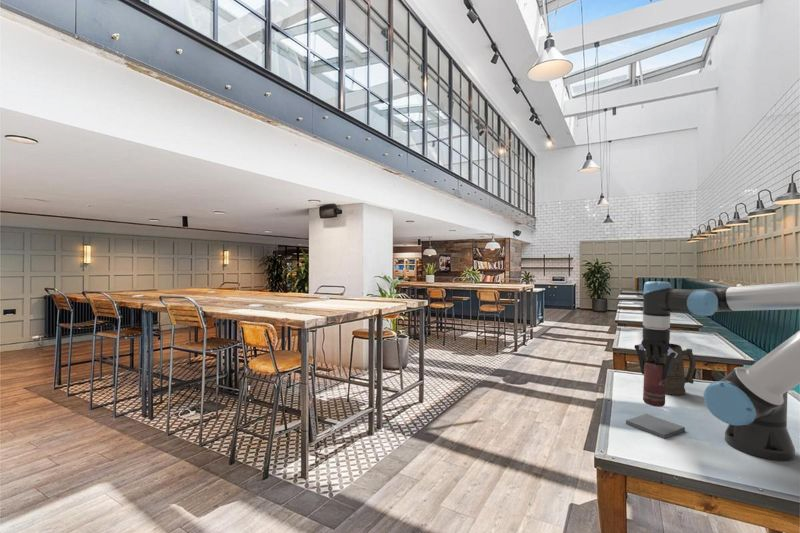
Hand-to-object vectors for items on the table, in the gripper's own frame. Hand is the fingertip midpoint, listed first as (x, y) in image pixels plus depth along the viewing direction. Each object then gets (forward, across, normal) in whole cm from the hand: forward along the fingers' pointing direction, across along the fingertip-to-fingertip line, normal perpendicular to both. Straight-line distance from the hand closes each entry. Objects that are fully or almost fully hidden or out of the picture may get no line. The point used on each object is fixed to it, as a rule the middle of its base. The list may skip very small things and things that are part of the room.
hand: (654, 397), depth 125 cm
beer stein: (+10, +16, -44) cm, 48 cm away
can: (+2, 0, 0) cm, 2 cm away
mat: (+10, 0, 0) cm, 10 cm away
